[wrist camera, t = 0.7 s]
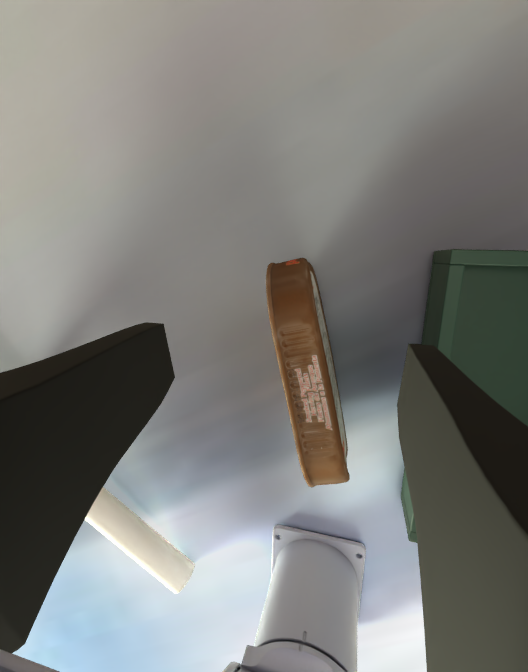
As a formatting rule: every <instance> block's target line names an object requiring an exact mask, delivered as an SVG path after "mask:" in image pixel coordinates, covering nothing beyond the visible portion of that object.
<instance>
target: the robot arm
mask: <svg viewBox="0 0 528 672" xmlns="http://www.w3.org/2000/svg"><path fill="white" fill-rule="evenodd" d="M174 378H175V376H174V371H173V366H172V362H171V357H170V352H169V347H168V343H167V338H166V333H165V329H164V324H159V323H147V322H146V323H142V324H138V325H135V326H132V327H129V328H126V329H123V330H120V331H118V332H115V333H113V334H110V335H107V336H105V337H102V338H100V339H97V340H95V341H92V342H90V343H87V344H84V345H82V346H79V347H77V348H74V349H71V350H68V351H66V352H63V353H60V354H57V355H55V356H52V357H49V358H46V359H44V360H41V361H38V362H35V363H32V364H29V365H26V366H22V367H19V368H16V369H12V370H9V371H5V372H2V373H0V672H59V671H56V670H54V669H51V668H48V667H46V666H43V665H40V664H38V663H35V662H33V661H30V660H27V659H25V658H22V657H19V656H17V655H14V654H11V653H13V652H15V651H16V650H18V649H19V648H20V647H22V646H23V645H24V644H25V642H26V640H27V638H28V635H29V633H30V631H31V628H32V626H33V624H34V622H35V619H36V617H37V615H38V613H39V611H40V608H41V606H42V604H43V602H44V600H45V597H46V595H47V593H48V591H49V589H50V586H51V584H52V582H53V580H54V578H55V576H56V574H57V572H58V570H59V568H60V566H61V564H62V562H63V560H64V558H65V556H66V554H67V552H68V550H69V548H70V546H71V544H72V542H73V540H74V538H75V536H76V534H77V532H78V530H79V529H80V527H81V525H82V523H83V521H84V519H85V517H86V516H87V514H88V512H89V510H90V508H91V506H92V505H93V503H94V501H95V500H96V498H97V496H98V494H99V493H100V491H101V489H102V488H103V486H104V484H105V483H106V481H107V479H108V477H109V476H110V474H111V473H112V471H113V470H114V468H115V467H116V465H117V464H118V462H119V461H120V459H121V458H122V457H123V455H124V454H125V452H126V451H127V450H128V448H129V447H130V446H131V444H132V443H133V442H134V440H135V439H136V437H137V436H138V435H139V433H140V432H141V431H142V429H143V428H144V427H145V425H146V424H147V423H148V421H149V420H150V418H151V417H152V416H153V414H154V413H155V411H156V410H157V409H158V407H159V406H160V404H161V403H162V401H163V399H164V397H165V396H166V394H167V392H168V390H169V388H170V386H171V384H172V382H173V380H174ZM397 407H398V427H399V439H400V445H401V450H402V455H403V461H404V466H405V471H406V477H407V482H408V487H409V492H410V498H411V503H412V508H413V513H414V519H415V526H416V533H417V542H418V554H419V565H420V576H421V589H422V603H423V616H424V629H425V645H426V662H427V672H528V426H527V425H525V424H524V423H523V422H521V421H520V420H519V419H517V418H516V417H515V416H514V415H512V414H511V413H510V412H509V411H507V410H506V409H505V408H503V407H502V406H501V405H500V404H498V403H497V402H496V401H495V400H494V399H492V398H491V397H490V396H489V395H488V394H486V393H485V392H484V391H483V390H482V389H481V388H480V387H478V386H477V385H476V384H475V383H474V382H473V381H472V380H471V379H470V378H468V377H467V376H466V375H465V374H464V373H463V372H462V371H461V370H460V369H459V368H458V367H457V366H456V365H454V364H453V363H452V362H451V361H450V360H449V359H448V358H447V357H446V356H445V355H444V354H443V353H442V352H441V351H440V350H438V349H437V348H436V347H435V346H433V345H421V344H408V350H407V355H406V360H405V366H404V371H403V376H402V382H401V387H400V393H399V398H398V403H397ZM277 535H280V536H277ZM357 553H360V554H361V555H358V554H357ZM365 554H366V548H365V546H364V545H363V544H362V543H359V542H354V541H350V540H345V539H341V538H336V537H332V536H327V535H323V534H318V533H314V532H309V531H305V530H300V529H296V528H291V527H287V526H283V525H275V526H274V529H273V542H272V568H271V582H270V586H269V590H268V593H267V597H266V601H265V605H264V608H263V612H262V616H261V619H260V623H259V627H258V631H257V634H256V638H255V642H254V646H249V645H247V647H246V650H245V654H244V657H243V661H242V664H240V663H237V662H231V663H230V664H229V665H228V666H227V667H226V669H224V670H223V671H222V672H357V625H358V616H359V607H360V598H361V589H362V581H363V572H364V563H365Z"/></svg>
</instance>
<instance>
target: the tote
mask: <svg viewBox="0 0 528 672" xmlns="http://www.w3.org/2000/svg"><path fill="white" fill-rule="evenodd" d="M421 345H433V346H435V347H436V348H437V349H438V350H440V351H441V352H442V353H443V354H444V355H445V356H446V357H447V358H448V359H449V360H450V361H451V362H452V363H453V364H454V365H456V366H457V367H458V368H459V369H460V370H461V371H462V372H463V373H464V374H465V375H466V376H467V377H468V378H470V379H471V380H472V381H473V382H474V383H475V384H476V385H477V386H478V387H480V388H481V389H482V390H483V391H484V392H485V393H486V394H488V395H489V396H490V397H491V398H492V399H494V400H495V401H496V402H497V403H498V404H500V405H501V406H502V407H503V408H505V409H506V410H507V411H509V412H510V413H511V414H512V415H514V416H515V417H516V418H517V419H519V420H520V421H521V422H523V423H524V424H525V425H527V426H528V251H515V250H462V249H451V250H441V251H434V255H433V263H432V270H431V277H430V285H429V292H428V299H427V307H426V314H425V321H424V329H423V336H422V344H421ZM401 500H402V506H403V511H404V517H405V522H406V528H407V533H408V538H409V541H411V542H416V543H418V542H417V533H416V526H415V519H414V513H413V508H412V503H411V498H410V492H409V487H408V482H407V477H406V471H405V469H404V476H403V483H402V491H401Z"/></svg>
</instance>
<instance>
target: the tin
mask: <svg viewBox="0 0 528 672" xmlns="http://www.w3.org/2000/svg"><path fill="white" fill-rule="evenodd" d="M266 293H267V304H268V312H269V319H270V325H271V330H272V336H273V341H274V345H275V350H276V355H277V359H278V364H279V369H280V373H281V378H282V382H283V388H284V392H285V396H286V401H287V406H288V411H289V415H290V420H291V425H292V430H293V434H294V439H295V444H296V449H297V454H298V458H299V462H300V466H301V470H302V472H303V476H304V478H305V480H306V482H307V484H308V486H310V487H314V486H316V485H326V484H338V483H344V482H347V481H348V480H349V473H348V470H347V463H346V457H347V450H348V449H347V439H346V433H345V426H344V420H343V414H342V408H341V402H340V397H339V391H338V385H337V380H336V374H335V368H334V362H333V356H332V351H331V346H330V340H329V335H328V330H327V325H326V321H325V316H324V311H323V306H322V301H321V297H320V292H319V288H318V283H317V279H316V275H315V272H314V269H313V267H312V265H311V264H310V263H309V262H308V261H307V260H306V259H305V258H299V259H294V260H290V261H286V262H282V263H277V264H275V263H270V264H269V265H268V268H267V274H266Z"/></svg>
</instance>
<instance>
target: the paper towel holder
mask: <svg viewBox="0 0 528 672" xmlns="http://www.w3.org/2000/svg"><path fill="white" fill-rule="evenodd" d="M85 520H86V521H87V522H89V523H90V524H91V525H92V526H93V527H95V528H96V529H97V530H98V531H100V532H101V533H102V534H103V535H104V536H106V537H107V538H108V539H109V540H110V541H112V542H113V543H114V544H115V545H117V546H118V547H119V548H120V549H121V550H123V551H124V552H125V553H126V554H128V555H129V556H130V557H131V558H132V559H134V560H135V561H136V562H137V563H138V564H140V565H141V566H142V567H143V568H145V569H146V570H147V571H148V572H149V573H151V574H152V575H153V576H154V577H156V578H157V579H158V580H159V581H160V582H162V583H163V584H164V585H165V586H166V587H168V588H169V589H170V590H171V591H173V592H174V593H175V594H177V593H179V592H180V591H181V590H182V589H183V588H184V587H185V585H186V584H187V582H188V581H189V579H190V577H191V575H192V573H193V571H194V567H195V564H194V563H193V562H192V561H191V560H190V559H189V558H187V557H186V556H185V555H184V554H183V553H181V552H180V551H179V550H178V549H177V548H175V547H174V546H173V545H172V544H171V543H170V542H168V541H167V540H166V539H165V538H164V537H162V536H161V535H160V534H159V533H158V532H156V531H155V530H154V529H153V528H152V527H150V526H149V525H148V524H147V523H146V522H144V521H143V520H142V519H141V518H140V517H138V516H137V515H136V514H135V513H134V512H133V511H131V510H130V509H129V508H128V507H127V506H125V505H124V504H123V503H122V502H121V501H119V500H118V499H117V498H116V497H115V496H113V495H112V494H111V493H110V492H109V491H107V490H106V489H105V488H104V487H103V488H102V489H101V491H100V493H99V494H98V496H97V498H96V500H95V501H94V503H93V505H92V506H91V508H90V510H89V512H88V514H87V516H86V517H85Z"/></svg>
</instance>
